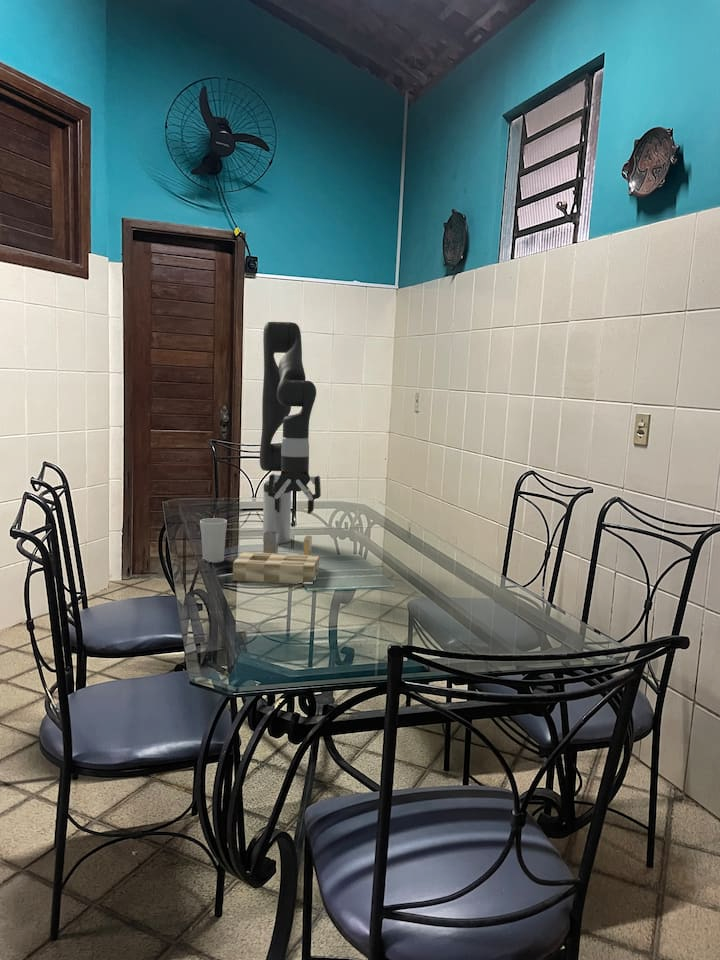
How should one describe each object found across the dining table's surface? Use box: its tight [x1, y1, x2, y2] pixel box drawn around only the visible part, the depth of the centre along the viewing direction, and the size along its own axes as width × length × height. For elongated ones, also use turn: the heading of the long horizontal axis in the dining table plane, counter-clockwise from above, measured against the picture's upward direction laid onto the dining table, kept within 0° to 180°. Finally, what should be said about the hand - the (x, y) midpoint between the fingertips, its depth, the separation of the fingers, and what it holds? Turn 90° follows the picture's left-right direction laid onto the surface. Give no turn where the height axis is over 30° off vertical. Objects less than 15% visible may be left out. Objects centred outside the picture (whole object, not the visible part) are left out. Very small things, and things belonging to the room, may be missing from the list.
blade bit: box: [303, 535, 313, 555], centre depth 203 cm, size 5×2×9 cm, turn 176°
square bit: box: [262, 531, 279, 554], centre depth 204 cm, size 4×4×10 cm
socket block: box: [232, 551, 320, 585], centre depth 193 cm, size 12×22×5 cm, turn 86°
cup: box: [199, 517, 228, 564], centre depth 208 cm, size 8×8×12 cm
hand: (294, 512), depth 190 cm, fingers open, 8 cm apart
